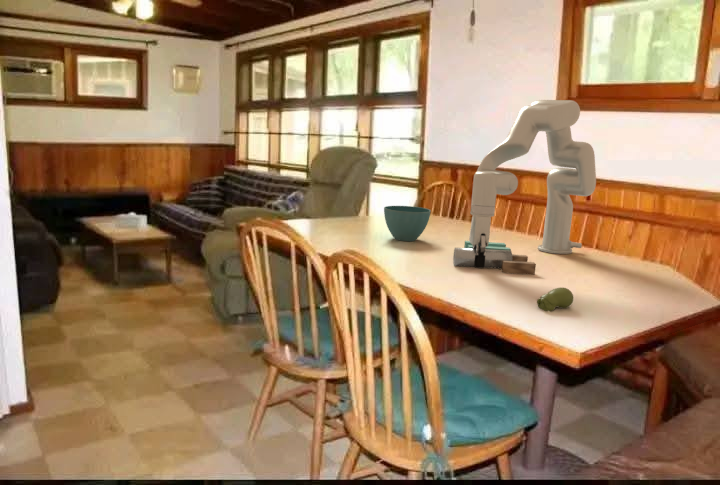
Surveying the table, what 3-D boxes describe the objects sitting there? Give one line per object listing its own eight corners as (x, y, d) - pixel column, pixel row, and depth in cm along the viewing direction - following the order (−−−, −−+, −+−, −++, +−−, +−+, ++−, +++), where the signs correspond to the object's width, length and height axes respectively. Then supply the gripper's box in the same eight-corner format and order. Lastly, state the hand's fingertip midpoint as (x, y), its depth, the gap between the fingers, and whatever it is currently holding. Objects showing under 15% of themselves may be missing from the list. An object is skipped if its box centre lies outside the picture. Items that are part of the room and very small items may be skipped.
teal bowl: (398, 233, 246) (400, 204, 243) (436, 239, 235) (439, 209, 233) (373, 238, 231) (375, 207, 229) (413, 246, 221) (415, 213, 218)
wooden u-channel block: (525, 265, 198) (526, 255, 197) (534, 274, 186) (535, 264, 185) (495, 263, 198) (496, 253, 198) (502, 272, 186) (503, 262, 185)
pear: (578, 288, 150) (547, 298, 146) (578, 308, 151) (547, 318, 147) (562, 283, 154) (532, 291, 151) (562, 301, 156) (532, 311, 152)
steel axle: (507, 266, 195) (509, 248, 194) (511, 271, 189) (513, 253, 188) (452, 263, 195) (454, 245, 194) (454, 267, 190) (456, 249, 188)
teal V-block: (502, 256, 210) (504, 243, 209) (509, 263, 199) (510, 249, 198) (463, 254, 211) (464, 240, 210) (468, 261, 200) (469, 246, 199)
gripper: (467, 206, 197) (462, 258, 201) (475, 213, 180) (469, 270, 184) (489, 207, 197) (484, 260, 201) (499, 215, 180) (493, 272, 184)
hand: (477, 264), depth 192 cm, fingers closed on steel axle, 6 cm apart
